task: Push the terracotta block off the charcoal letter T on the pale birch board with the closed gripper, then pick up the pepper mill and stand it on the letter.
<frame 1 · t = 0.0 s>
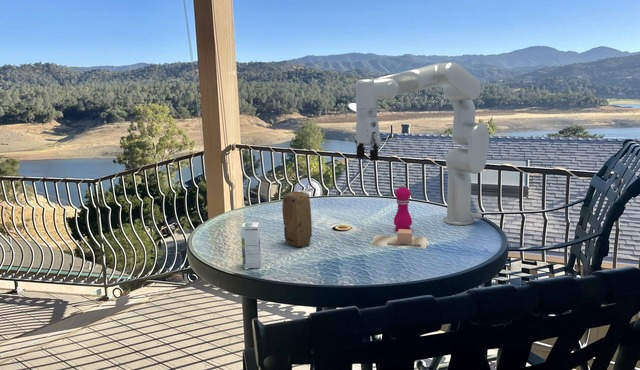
hand: (367, 159, 177), 31 cm above the table, tool pointing down, fingers open, 9 cm apart
block: (297, 244, 180), on the table
strainer: (302, 223, 209), on the table
syrup box: (252, 266, 158), on the table
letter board: (399, 243, 176), on the table
pepper mill: (402, 232, 190), on the table
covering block: (404, 241, 175), point 1 cm above the table, touching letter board
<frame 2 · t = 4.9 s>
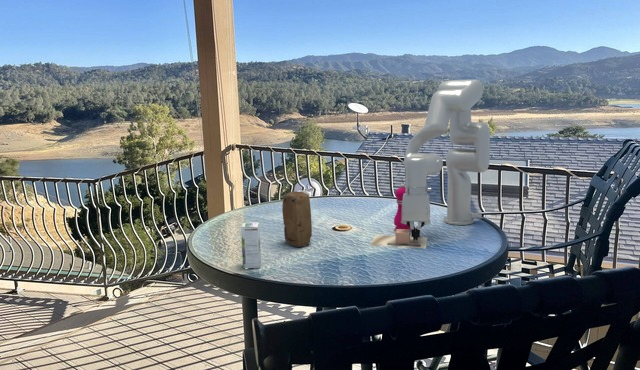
hand: (415, 239, 174), 2 cm above the table, tool pointing down, fingers closed
nothing on the table moved.
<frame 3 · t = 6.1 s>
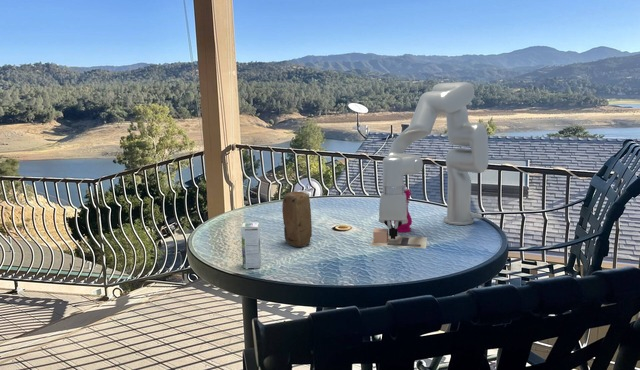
hand: (393, 237, 176), 2 cm above the table, tool pointing down, fingers closed
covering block: (380, 240, 177), point 1 cm above the table, touching gripper
everything else where it was.
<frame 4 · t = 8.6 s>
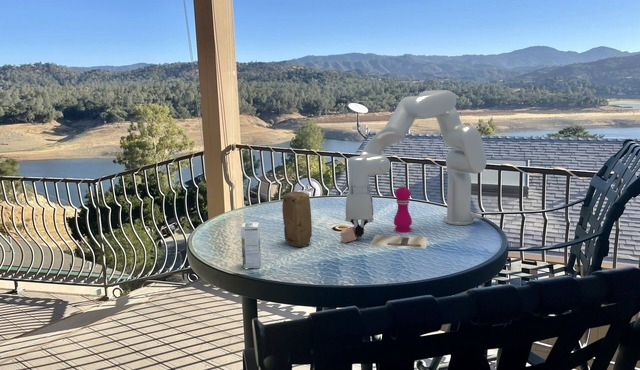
hand: (359, 236, 179), 2 cm above the table, tool pointing down, fingers closed
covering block: (351, 239, 180), point 1 cm above the table, tilted 19°, touching gripper
everything else where it was.
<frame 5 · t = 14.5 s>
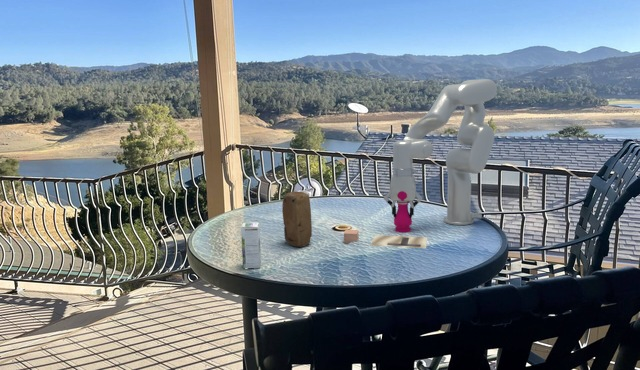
hand: (402, 216, 188), 7 cm above the table, tool pointing down, fingers closed on pepper mill, 5 cm apart
pepper mill: (402, 232, 190), on the table, touching gripper
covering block: (351, 241, 180), on the table
everything else where it was.
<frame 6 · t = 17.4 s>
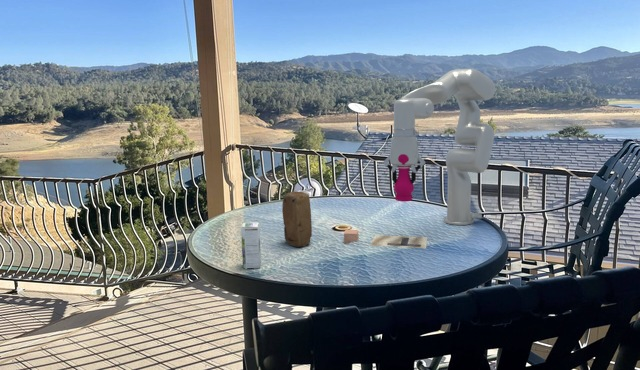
hand: (403, 182, 174), 23 cm above the table, tool pointing down, fingers closed on pepper mill, 5 cm apart
pepper mill: (403, 200, 175), point 16 cm above the table, touching gripper
everything else where it was.
when the fingers open (9 cm above the table, at t = 20.7 s): pepper mill drops 1 cm, resting on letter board.
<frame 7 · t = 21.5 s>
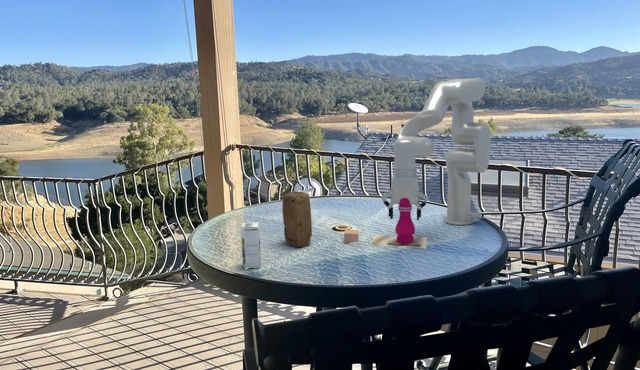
hand: (404, 218, 174), 10 cm above the table, tool pointing down, fingers open, 9 cm apart
pepper mill: (405, 241, 175), point 1 cm above the table, touching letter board
everything else where it was.
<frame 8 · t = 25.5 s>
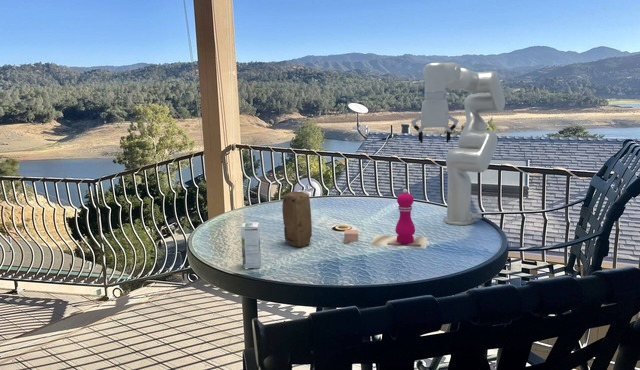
hand: (434, 142, 179), 36 cm above the table, tool pointing down, fingers open, 9 cm apart
nothing on the table moved.
at the end: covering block inside the target area (1.2 cm from its centre), on the table; pepper mill 0.3 cm from the target spot on the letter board, point 0.6 cm above the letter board's base; pepper mill tilted 0° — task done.
